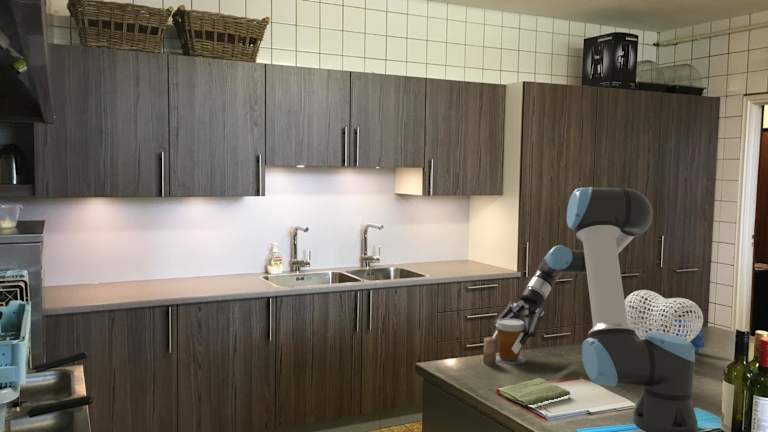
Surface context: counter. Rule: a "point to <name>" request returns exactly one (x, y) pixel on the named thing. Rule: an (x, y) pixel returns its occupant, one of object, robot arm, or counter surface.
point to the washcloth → (533, 392)
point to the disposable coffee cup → (508, 337)
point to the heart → (662, 302)
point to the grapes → (697, 340)
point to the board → (517, 361)
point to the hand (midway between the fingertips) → (503, 347)
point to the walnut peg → (489, 351)
